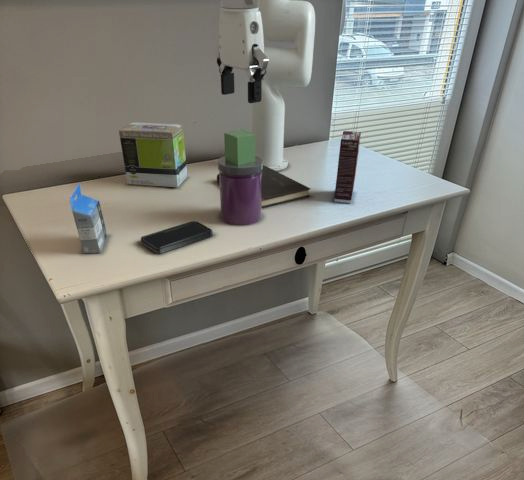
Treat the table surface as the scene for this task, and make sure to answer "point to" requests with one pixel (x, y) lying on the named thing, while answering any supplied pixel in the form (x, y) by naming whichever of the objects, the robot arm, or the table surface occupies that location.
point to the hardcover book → (279, 188)
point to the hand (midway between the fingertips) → (241, 97)
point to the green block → (239, 147)
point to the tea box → (154, 154)
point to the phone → (176, 237)
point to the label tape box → (88, 221)
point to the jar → (240, 191)
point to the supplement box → (347, 166)
